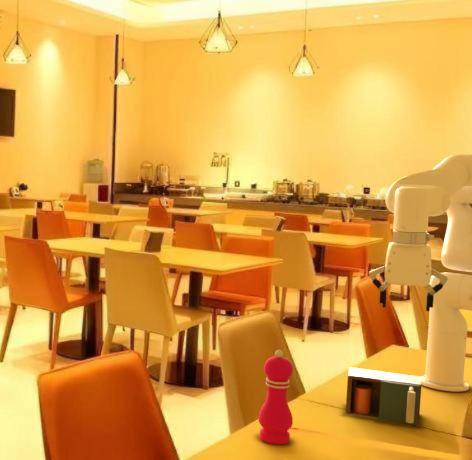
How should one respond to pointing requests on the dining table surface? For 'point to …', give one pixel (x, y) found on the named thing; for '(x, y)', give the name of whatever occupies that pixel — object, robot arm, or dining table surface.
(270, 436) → the pepper mill
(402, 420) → the sliding door
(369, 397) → the orange cylinder
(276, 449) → the dining table surface
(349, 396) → the cabinet
